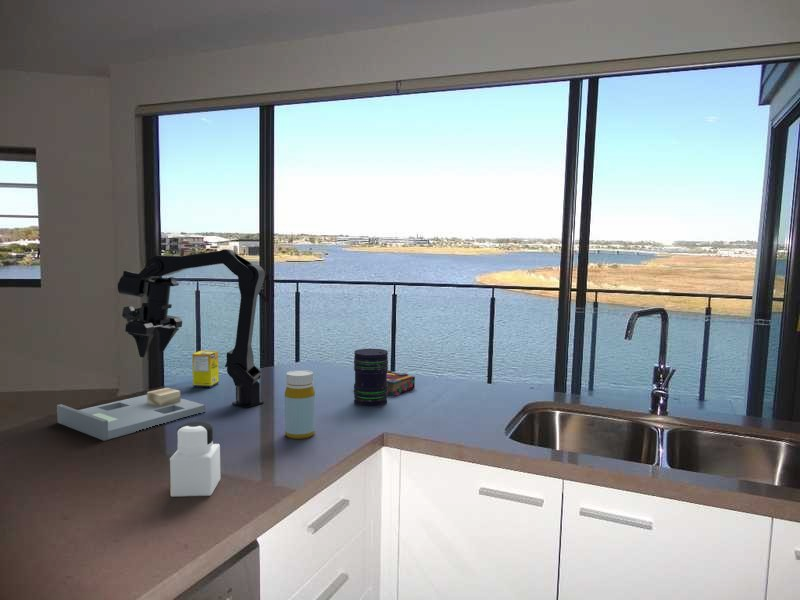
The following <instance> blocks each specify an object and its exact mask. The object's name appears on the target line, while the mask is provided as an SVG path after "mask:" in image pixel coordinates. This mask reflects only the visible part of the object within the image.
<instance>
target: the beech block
mask: <svg viewBox="0 0 800 600" xmlns="http://www.w3.org/2000/svg"><path fill="white" fill-rule="evenodd" d="M146 395H147V403H149V404H153V405H156V406H159V407H162V406H166V405H170V404H174V403H177V402H181V399H182V398H181V390H178V389H173V388H169V387H164V388H160V389H154V390H150V391H147V392H146Z"/></svg>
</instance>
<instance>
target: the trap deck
mask: <svg viewBox="0 0 800 600" xmlns="http://www.w3.org/2000/svg"><path fill="white" fill-rule="evenodd" d="M173 411H174V412H173ZM203 412H205V413H206V404H203V403H199V402H196V401H192V400H188V399H186V398H185V399H184V398H181V402H177V403H174V404H170V405H166V406H162V407H159V406H156V405H153V404H149V403H147V394H144V395H139V396H135V397H131V398H127V399H122V400H117V401H113V402H108V403H104V404H99V405H95V406H91V407H86V408H82V409H75V408H73V407H70V406H67V405H65V404H61V403H60V404H57V405H56V416H57V418H56V419H57V423H58V424H60V425H63V426H65V427H67V428H70V429H72V430H73V429H74V430H76V431H78V432H81V433H83V434H86V435H87V436H90V437H94V438H96V439H98V440H101V441H104V442H105V441H108V440H111V439H116V438H118V437H122V436H123V437H124V436H126V435H130V434H133V433H136V431H137V432H139V430H141V431H143V430H142V429H144V430H147V429H146V428H148V429H150V428H149V427H151V428H153V427H152V426H155V425H158V426H160V425H159V424H162V425H164V424H163V423H165V424H167V423H166V422H169V423H171V422H170V421H173V420H176V419H179V418H183V417H186V416H189V415H194V414H197V415H199V414H198V413H201V414H204V413H203ZM194 416H195V415H194ZM183 419H184V418H183ZM176 421H177V420H176ZM173 422H174V421H173ZM155 427H156V426H155Z"/></svg>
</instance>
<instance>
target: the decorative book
mask: <svg viewBox="0 0 800 600" xmlns="http://www.w3.org/2000/svg"><path fill="white" fill-rule="evenodd" d="M415 381H416V377H415V376H414V375H409V374H408V373H405V372H402V373H399V372H393V371H392V370H388V371H387V384H388V389H387V390H388V394H387V396H399V395H400V394H401V393H405V392H407V391H411V390H413V389H415V387H416V385H415V384H416V382H415Z"/></svg>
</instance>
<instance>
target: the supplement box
mask: <svg viewBox="0 0 800 600" xmlns="http://www.w3.org/2000/svg"><path fill="white" fill-rule="evenodd" d="M191 356H192V383H193V385H192V386H193V388H202V387H207V388H208V387H209V388H208V389H211V387H212V388H213V387H215V386H217V385H219V384H218V383H220V382H219V381H220V380H219V378H220V377H219V376H220V375H219V373H220V372H219V351H218V350H198V351H196V352H193V353H192V355H191ZM216 384H217V385H216ZM214 385H215V386H214ZM207 388H206V389H207Z"/></svg>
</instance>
